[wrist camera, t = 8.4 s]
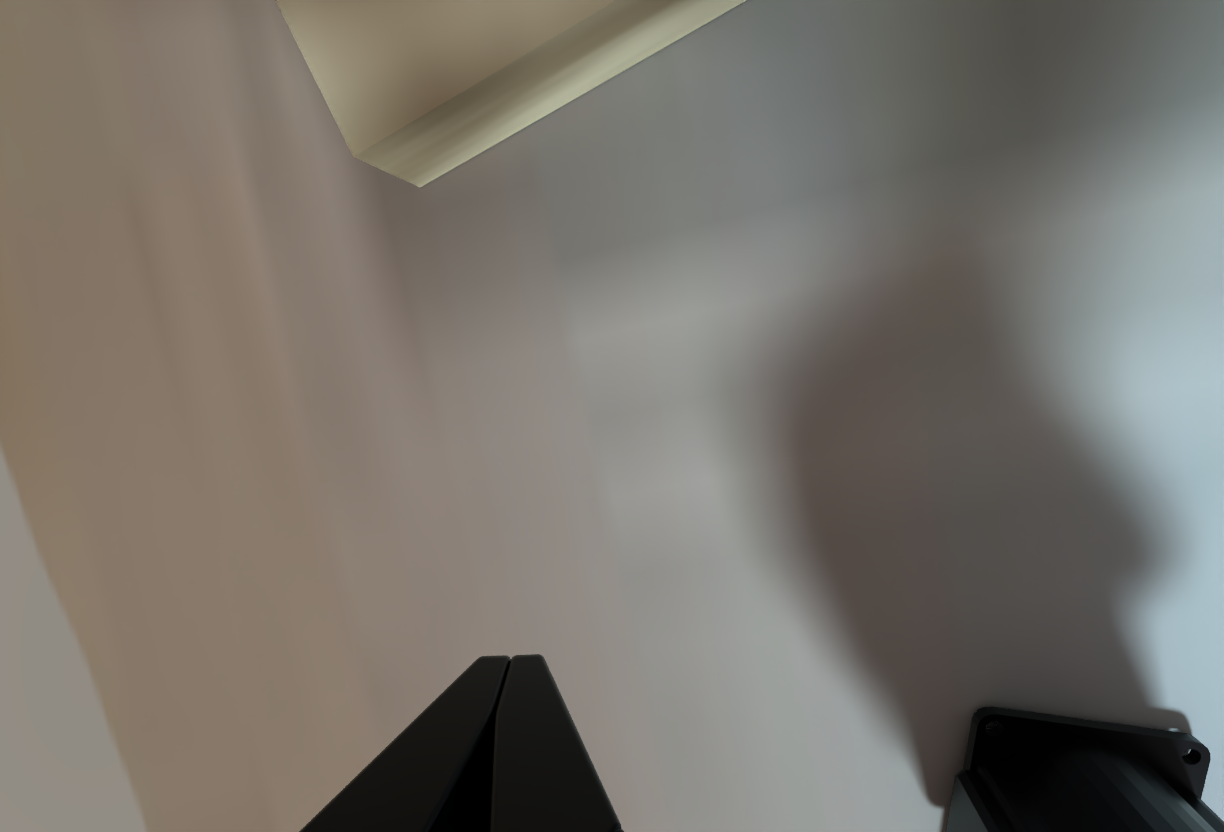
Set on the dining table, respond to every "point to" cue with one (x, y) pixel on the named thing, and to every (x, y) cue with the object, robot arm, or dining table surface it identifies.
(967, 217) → the dining table surface
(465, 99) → the board
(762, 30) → the dining table surface
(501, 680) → the robot arm
